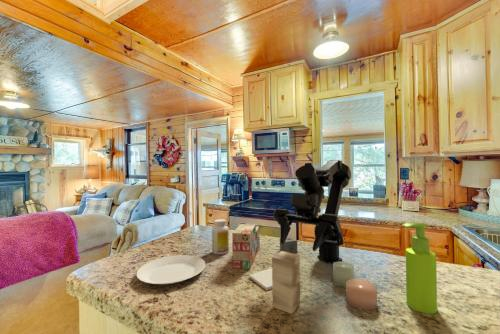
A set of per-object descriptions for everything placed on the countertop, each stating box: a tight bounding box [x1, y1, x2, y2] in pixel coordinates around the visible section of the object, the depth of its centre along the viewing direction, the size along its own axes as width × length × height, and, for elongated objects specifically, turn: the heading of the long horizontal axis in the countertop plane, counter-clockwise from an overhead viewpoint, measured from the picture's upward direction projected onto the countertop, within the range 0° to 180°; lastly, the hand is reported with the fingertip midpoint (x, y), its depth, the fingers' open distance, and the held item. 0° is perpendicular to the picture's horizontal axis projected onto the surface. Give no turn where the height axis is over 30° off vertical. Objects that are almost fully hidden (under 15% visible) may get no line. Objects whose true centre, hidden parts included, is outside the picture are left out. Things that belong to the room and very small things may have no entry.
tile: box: [248, 267, 272, 291], centre depth 69 cm, size 9×9×1 cm
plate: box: [136, 254, 206, 286], centre depth 74 cm, size 21×21×2 cm
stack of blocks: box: [231, 223, 261, 270], centre depth 87 cm, size 21×6×12 cm, turn 169°
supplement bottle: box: [211, 218, 230, 256], centre depth 92 cm, size 7×7×13 cm
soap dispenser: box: [401, 221, 438, 315], centre depth 55 cm, size 6×7×20 cm
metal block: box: [271, 251, 301, 314], centre depth 56 cm, size 5×5×12 cm
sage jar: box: [332, 261, 355, 288], centre depth 67 cm, size 6×6×5 cm
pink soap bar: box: [345, 278, 378, 311], centre depth 57 cm, size 7×7×4 cm
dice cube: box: [279, 236, 298, 254], centre depth 92 cm, size 5×5×5 cm
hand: (296, 246), depth 61 cm, fingers open, 9 cm apart
